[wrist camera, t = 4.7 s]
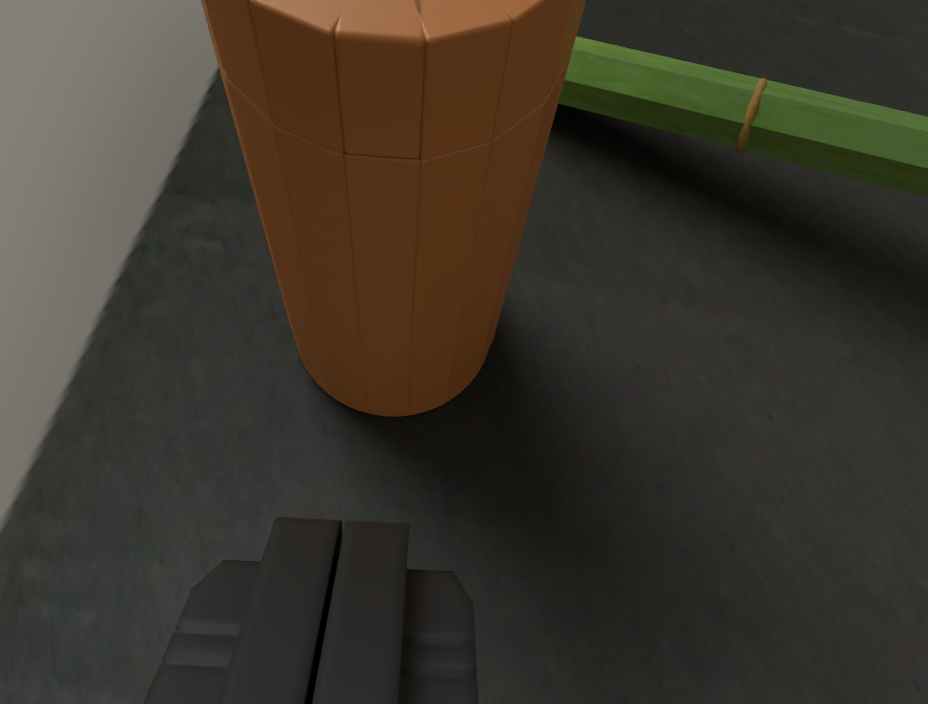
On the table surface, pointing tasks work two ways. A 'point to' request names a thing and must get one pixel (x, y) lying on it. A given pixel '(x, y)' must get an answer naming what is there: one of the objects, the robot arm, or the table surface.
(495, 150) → the jar
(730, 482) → the table surface
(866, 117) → the decorative plant
